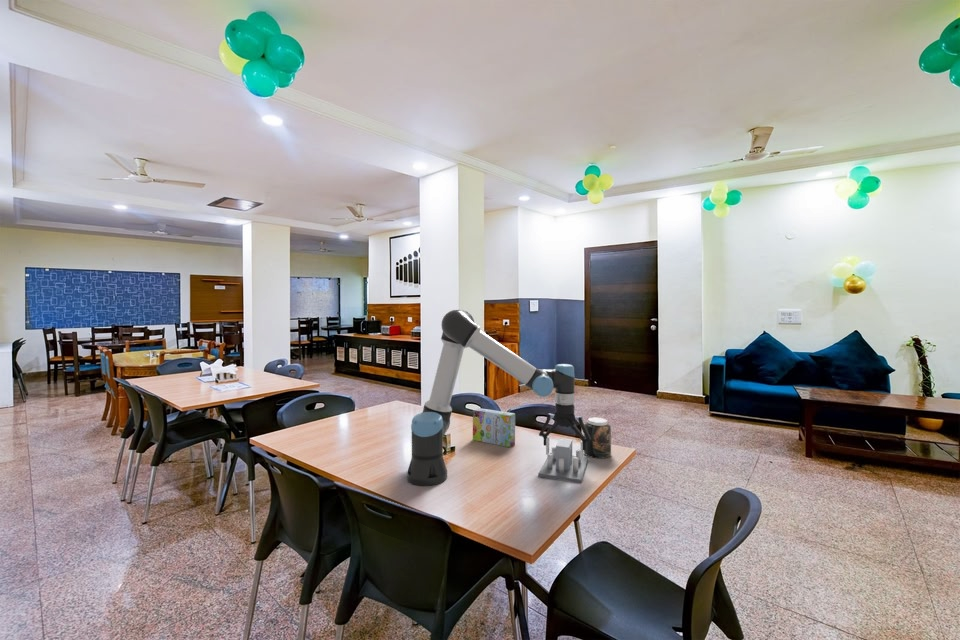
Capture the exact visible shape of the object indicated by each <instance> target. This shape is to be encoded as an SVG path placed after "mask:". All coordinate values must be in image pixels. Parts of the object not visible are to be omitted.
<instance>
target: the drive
mask: <svg viewBox="0 0 960 640" xmlns="http://www.w3.org/2000/svg"><path fill="white" fill-rule="evenodd" d="M555 447H556V469H559V458H563V459H564V470H569V469H570V466H571V464H572V456H573V439H569V438H559V440H558V442H557V443H556V446H555Z"/></svg>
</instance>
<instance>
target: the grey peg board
mask: <svg viewBox="0 0 960 640" xmlns="http://www.w3.org/2000/svg"><path fill="white" fill-rule="evenodd" d="M580 451H581V449H576V450H575V455H572V464H571V466H570V469H569V470H564V459H563V458H559V469H556V446H551V452H549V454H547V455H546V456H547V458H546V459H545V461H544V463H543V464H542V466H541V467H540V469H539V472H538V474H537V477H539V478H540V477H541V478H547V479H552V480H560V481H564V482H565V481H566V482H573V483H578V484H582V482H583V478H584V475H585V471H586V469H587V468H586V467H587V465H588V462H589V456H588V457H587V456H583V459H580ZM587 461H588V462H587Z"/></svg>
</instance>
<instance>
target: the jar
mask: <svg viewBox="0 0 960 640" xmlns="http://www.w3.org/2000/svg"><path fill="white" fill-rule="evenodd" d="M584 425H585V427H586V429H587V431H588V433H589V435H590V437H591V440H590V441H588V442H586V450H583V454H585V455H586V454H587V456H588V455H589V456H588V457H590V456H592V457H591V458H595V457H597V458H596V459H607V457H608V458H610V457H611V455H612V428H611V425H610V424H608V420H607V419H606V418H603V417H596V416H595V417H589V418H588V419H587V422H585V423H584ZM583 435H584V434H583ZM584 437H585V435H584ZM585 438H586V437H585Z"/></svg>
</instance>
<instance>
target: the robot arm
mask: <svg viewBox="0 0 960 640" xmlns="http://www.w3.org/2000/svg"><path fill="white" fill-rule="evenodd" d="M442 317H443V318H442V320H441V329H442V334H441V338H440V340H441V342H442V344H443V345H442V349H441V353H440V358H439V361H438V366H437V369H436V373H435V377H434V381H433V384H432V388H431V392H430V397H429V400H427V401H425V402H424V404H423V409H422V412H420V413H417V414H416V415H414V416H413V417H412V419H411V425H410V428H411V459H410V463H409V464H408V465H409V466H408V469H407V471H406V480H407V482H409V483H410V484H412V485H416V486H422V487H423V486H425V487H426V486H434V485H438V484H441V483H444V481H446V480H447V479H448V469H447V466H446V463H445V460H444V457H443V456H444V455H443V453H444V452H443V451H444V450H443V448H444V445H443V441H444V436H445V434H446V432H447V431H448V430H449V428H450V425H451V417H452V411H453V407H452V406H451V401H452V397H453V393H454V391H455V390H454V389H455V386H456V385H455V384H456V381H457V377H458V373H459V369H460V366H461V361H462V358H463V354H464V350H465V349H467V348H470V349H472V350H473V351H475V353H477V354H479V355H480V356H482V357H483V358H485V359H486V360H488V361H489V362H490V363H492V364H494V365H495V366H496V367H498V368H500V369H501V370H503V371H504V372H506V373H507V374H508V375H510V376H512V377H513V378H514V379H516V380H517V381H519V382H520V383H522V384H523V385H525V387H526V388H527V389H530V390H532V391H533V392H534V393H535V394H536V395H537V396H539V397H541V398H542V397H547V396H549V395H551V394H552V393H553V391H554V389H555V394H554V395H555V396H554V401H555V404H554V405H555V406H554V414H553V413H550V412H549V413H547V416H546V420H545V422H544V424H543V426H542V428H541V430H540V432H539V433H538V436H539V437H542V438H543V446H545V455H546V456H547V454H550V436H549V435H550V434H551V433H552V432H553V431H554V430H555V429H556V428H557V427H558V426H559V427H562V428H563V427H565V428H569V427H570V428H571V430H573V432H574V433H575V434H576V435H577V436H578V438H579V439H580V440H581V441H580V450H581V451H580V459H583V457H584V450H586V442H588V441H590V440H591V437H590V435H589V433H588V431H587V429H586V427H585V423H584V419H583V416H582V415H579V416H576V415H575V404H574V403H575V378H576V376H575V367H574V365H572V364H568V363H559V364H555V367H554V368H553V369H543V368H542V369H541V368H540V369H539V368H537V367H535V366H534V365H532V364H530V363H529V361H527V360H525V359H524V358H523V357H522V358H521V357H520V356H519V355H517V354H516V353H515V352H513V351H512V350H510V349H509V348H508V347H505V346H504V345H502V344H501V343H500V342H499V341H497V340H496V339H494V338H493V337H491V336H489V335H488V334H487V333H485V332H484V331H483V330H481V327H480V325H478V324H477V323H476V322H475V320H474V317H473V316H472V314H471V313H470V312H468V311H465V310H464V309H453V310H449V312H447V313H446V314H444V316H442ZM552 419H554V421H555V422H554V424H553V425H552V426H551V427H550V428H549V429H548V430H547V431H546V429H547V427H548V425H549V423H550V421H551V420H552ZM575 421H576V422H577V423H578V424H579V426H580V429H581V430H582V431H581V430H580V429H579V428H578V427H577V425H576V423H575ZM545 431H546V432H545ZM584 435H585V437H586V438H585V437H584Z"/></svg>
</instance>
